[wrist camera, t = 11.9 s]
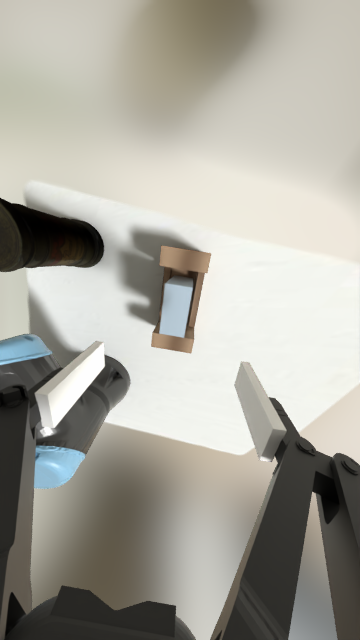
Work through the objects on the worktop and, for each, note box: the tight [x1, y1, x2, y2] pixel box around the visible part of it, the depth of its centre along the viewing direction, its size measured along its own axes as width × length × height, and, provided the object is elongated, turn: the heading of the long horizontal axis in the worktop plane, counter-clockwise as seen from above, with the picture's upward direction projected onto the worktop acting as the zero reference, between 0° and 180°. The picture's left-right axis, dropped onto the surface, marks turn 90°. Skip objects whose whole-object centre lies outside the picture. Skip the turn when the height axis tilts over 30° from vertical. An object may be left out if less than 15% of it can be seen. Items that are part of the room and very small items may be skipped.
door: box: [159, 275, 193, 338], centre depth 31 cm, size 4×8×12 cm, turn 171°
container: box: [0, 198, 104, 272], centre depth 27 cm, size 9×9×18 cm
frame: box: [151, 246, 211, 353], centre depth 33 cm, size 8×18×9 cm, turn 171°
